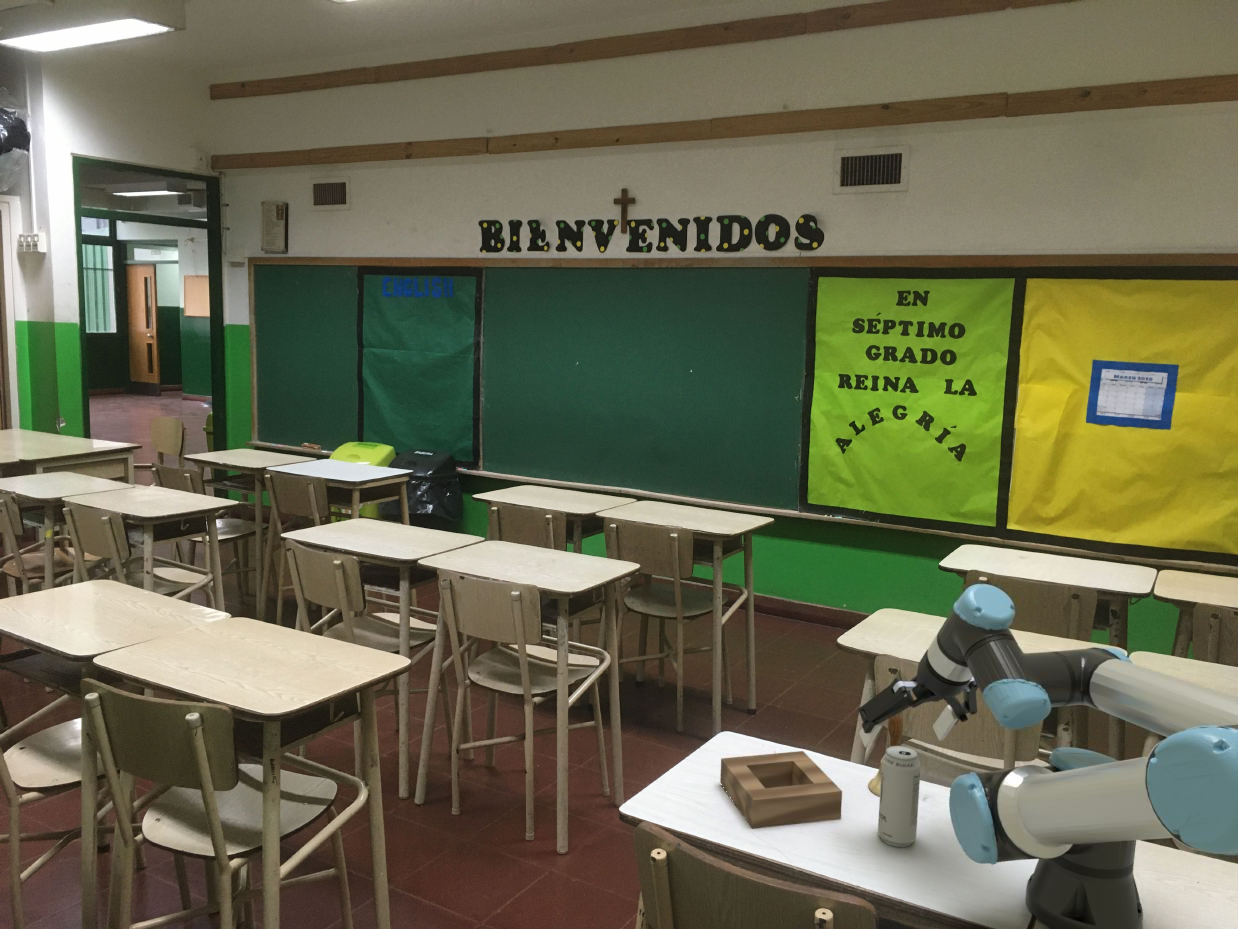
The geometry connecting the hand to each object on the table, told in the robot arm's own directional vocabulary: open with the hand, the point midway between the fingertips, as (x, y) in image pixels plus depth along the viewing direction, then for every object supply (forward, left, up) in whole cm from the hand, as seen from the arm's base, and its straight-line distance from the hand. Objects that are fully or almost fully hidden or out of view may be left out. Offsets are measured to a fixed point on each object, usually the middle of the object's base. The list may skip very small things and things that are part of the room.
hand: (901, 736), depth 162 cm
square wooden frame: (+11, +17, -15) cm, 25 cm away
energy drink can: (-5, +3, -16) cm, 17 cm away
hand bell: (+11, -5, -16) cm, 20 cm away
